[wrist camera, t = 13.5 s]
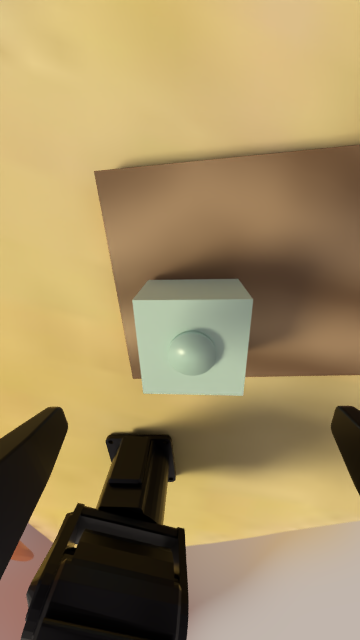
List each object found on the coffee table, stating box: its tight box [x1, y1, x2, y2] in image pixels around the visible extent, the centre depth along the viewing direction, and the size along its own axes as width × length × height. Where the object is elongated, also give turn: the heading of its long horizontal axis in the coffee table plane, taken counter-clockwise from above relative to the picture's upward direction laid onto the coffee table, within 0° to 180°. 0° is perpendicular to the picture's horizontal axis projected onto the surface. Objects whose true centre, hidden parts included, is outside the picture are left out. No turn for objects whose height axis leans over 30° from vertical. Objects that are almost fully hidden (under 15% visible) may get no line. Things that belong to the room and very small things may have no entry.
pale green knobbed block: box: [132, 279, 253, 396], centre depth 13 cm, size 6×6×4 cm
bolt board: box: [94, 145, 360, 379], centre depth 14 cm, size 14×18×4 cm
